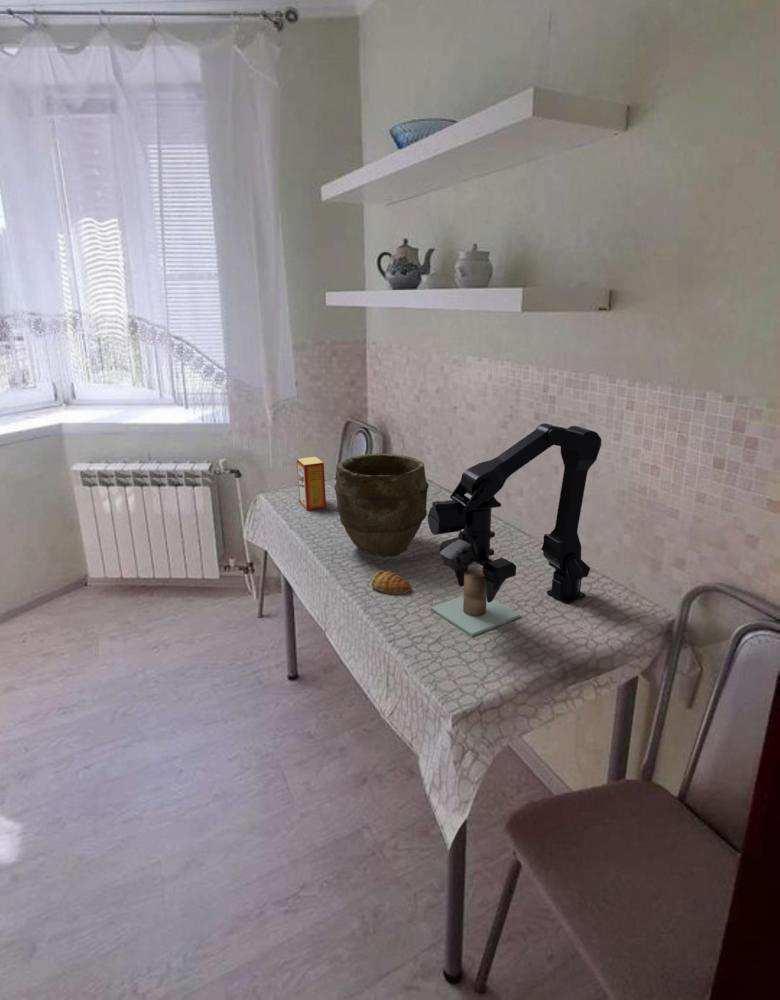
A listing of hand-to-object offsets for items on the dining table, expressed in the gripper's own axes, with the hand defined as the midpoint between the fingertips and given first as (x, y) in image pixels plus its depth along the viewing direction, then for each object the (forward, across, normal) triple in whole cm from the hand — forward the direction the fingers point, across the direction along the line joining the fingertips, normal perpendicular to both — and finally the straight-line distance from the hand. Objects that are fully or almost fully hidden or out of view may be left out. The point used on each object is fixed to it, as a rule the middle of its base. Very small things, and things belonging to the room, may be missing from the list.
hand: (475, 593), depth 135 cm
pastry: (+5, -22, -8) cm, 24 cm away
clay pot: (+5, -43, +4) cm, 43 cm away
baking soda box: (+5, -88, +5) cm, 88 cm away
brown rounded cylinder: (+4, 0, 0) cm, 4 cm away
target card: (+5, 0, 0) cm, 5 cm away
